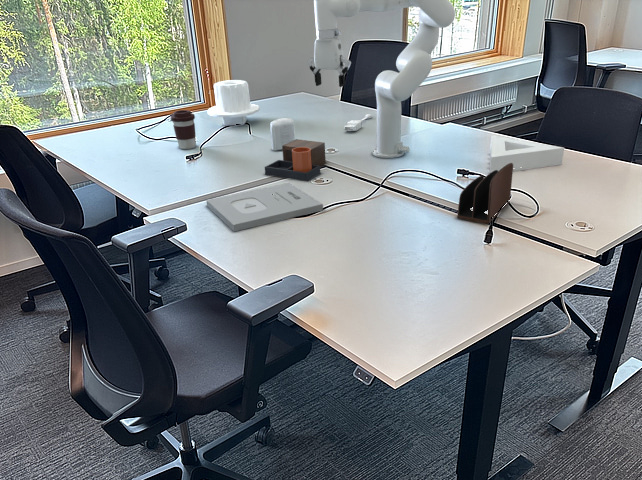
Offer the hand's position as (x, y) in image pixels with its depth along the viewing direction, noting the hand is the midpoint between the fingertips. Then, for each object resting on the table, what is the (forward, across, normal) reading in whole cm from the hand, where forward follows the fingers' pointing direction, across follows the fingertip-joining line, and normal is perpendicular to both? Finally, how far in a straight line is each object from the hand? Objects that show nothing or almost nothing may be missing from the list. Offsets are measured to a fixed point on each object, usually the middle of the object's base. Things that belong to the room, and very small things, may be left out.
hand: (330, 85), depth 213 cm
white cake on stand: (+28, +76, -38) cm, 89 cm away
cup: (+27, +3, +19) cm, 34 cm away
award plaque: (+28, -1, +52) cm, 59 cm away
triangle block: (+31, -62, -21) cm, 72 cm away
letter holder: (+30, -66, +26) cm, 77 cm away
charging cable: (+30, +16, -56) cm, 65 cm away
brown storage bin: (+28, +10, +7) cm, 31 cm away
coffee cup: (+27, +70, +5) cm, 75 cm away
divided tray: (+28, +8, +19) cm, 35 cm away
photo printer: (+28, +29, -9) cm, 42 cm away
